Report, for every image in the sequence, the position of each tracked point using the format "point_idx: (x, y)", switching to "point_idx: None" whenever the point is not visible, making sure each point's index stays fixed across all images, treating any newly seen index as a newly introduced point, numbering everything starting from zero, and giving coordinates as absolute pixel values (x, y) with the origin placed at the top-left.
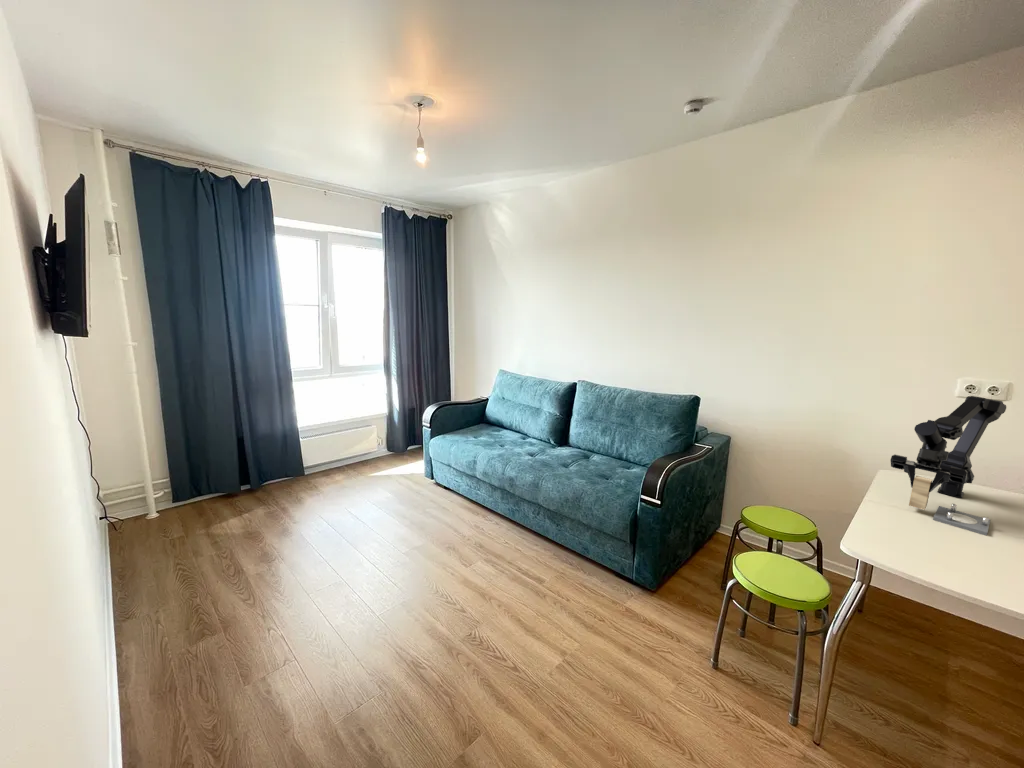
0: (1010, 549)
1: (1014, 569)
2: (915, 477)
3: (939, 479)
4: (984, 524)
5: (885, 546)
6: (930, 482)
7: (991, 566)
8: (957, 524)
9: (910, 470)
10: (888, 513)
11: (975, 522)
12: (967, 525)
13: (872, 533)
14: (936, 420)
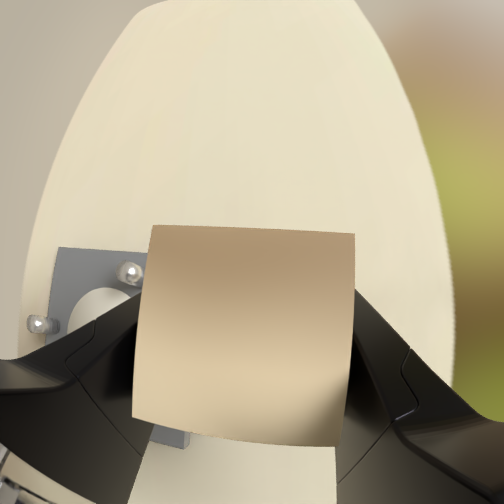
0: (46, 199)
1: (83, 97)
2: (348, 334)
3: (44, 348)
4: (52, 318)
5: (303, 10)
6: (151, 241)
7: (118, 73)
8: (123, 251)
9: (468, 423)
10: (367, 192)
11: (71, 325)
12: (95, 266)
13: (344, 34)
14: None
